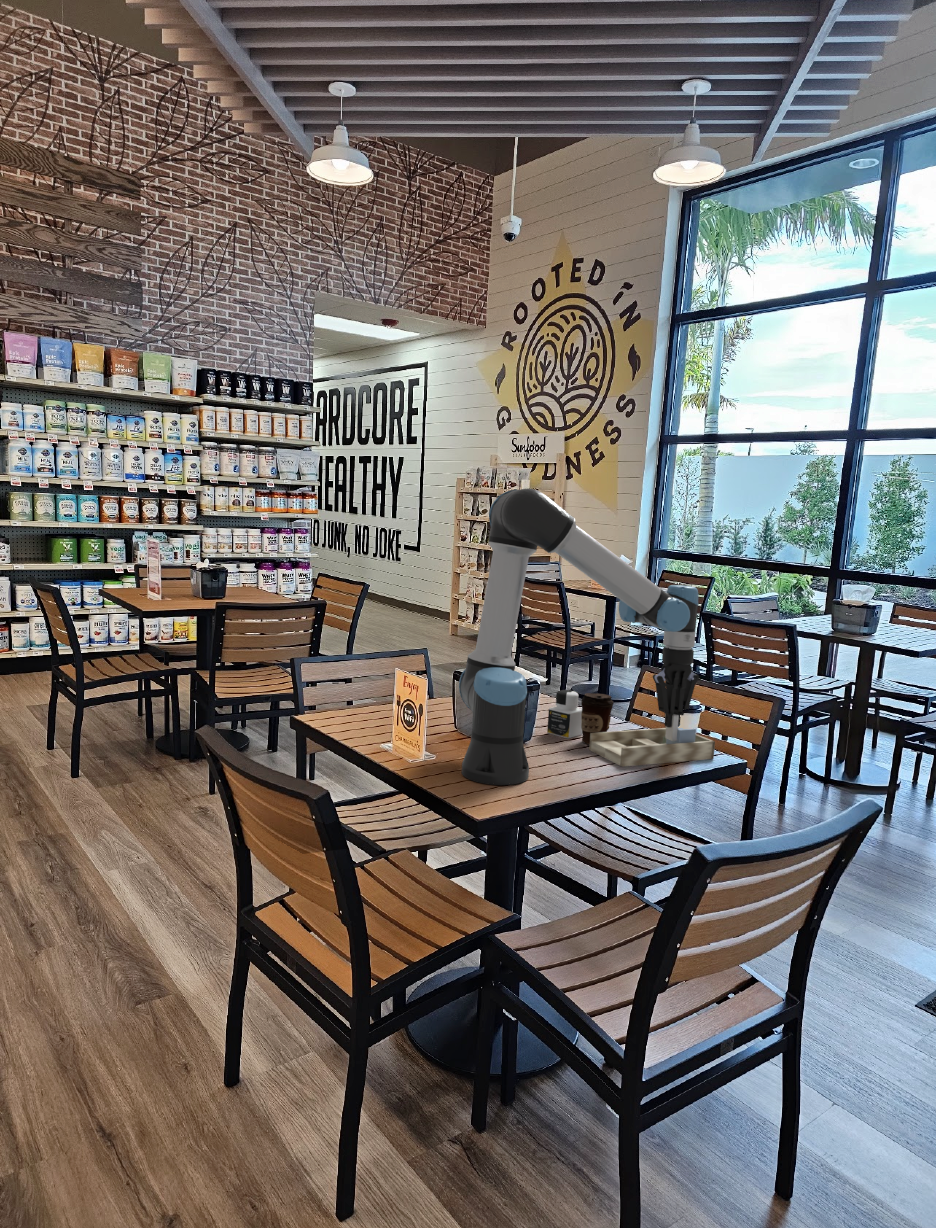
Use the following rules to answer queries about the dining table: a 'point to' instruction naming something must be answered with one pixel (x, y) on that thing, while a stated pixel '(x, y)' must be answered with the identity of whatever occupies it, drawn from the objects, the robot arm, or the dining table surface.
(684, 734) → the slate block
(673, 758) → the serving tray
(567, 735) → the medicine bottle
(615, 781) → the dining table surface
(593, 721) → the coffee cup
